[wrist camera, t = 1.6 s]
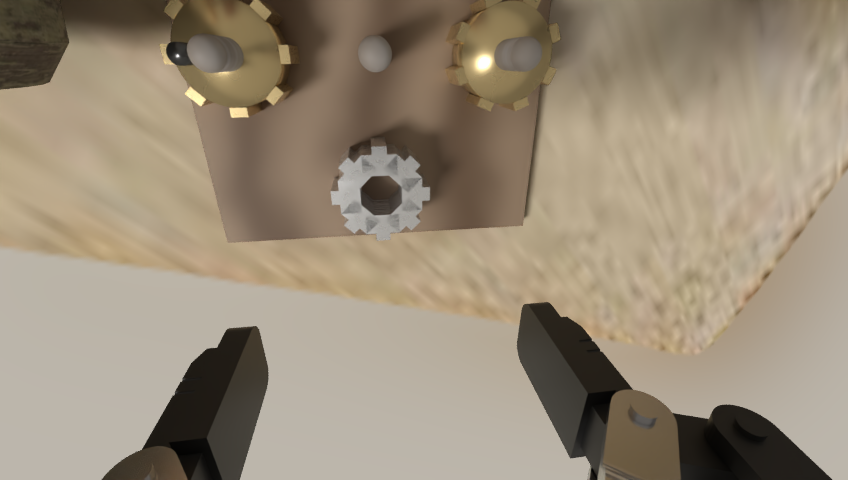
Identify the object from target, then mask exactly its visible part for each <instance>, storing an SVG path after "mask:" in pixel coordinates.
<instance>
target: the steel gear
mask: <svg viewBox="0 0 848 480" xmlns="http://www.w3.org/2000/svg"><path fill="white" fill-rule="evenodd" d="M419 167H420V163H419V161H418V159H417V157H416V155H415V154H414V153H413V152H412V151H411V150H410V149H409V148H408V147H407V146H406V145H405V146H404V148H403V149H402V150H401V151H400V150H399V149H398V148H397V147H396V146H395V145H394V144H388V145H386V143H385V138H384V137H371V145H361V147H360V148H359V149H358V150H357V151H356V152H355V151H354V150H353V149H351V148H350V147H349V148H348V149H347V151H346V152H345V153H344V154H343V155H342V156H341V158H340V162H339V166H338V169H339V170H340V174H339V177H338V178H334V180H333V184H332V188H331V200H332V205H340V207H341V214H342V215H343V216H344V217H345V220H344V226H345V227H346V228H348V229H349V230H350V231H352V232H353V233H354V234H355V233H356V232H357V231H358V230H359V229H361V230H362V231H363V232H365V233H366V234H377V241H378V240H390V233H398V232H401V231H402V230H403V229H404V228H405V227H406V226H407V227H408V228H409V229H410V230H412V229H413V228H414V227H415V226H417V225H418V224H419V223H420V222H421V220H420V217H419V213H420V212H421V211H422V201H428V200H430V186H429V184H428V182H427V180H426V178H425V176H424V174H420V172H419V170H418V168H419ZM371 176H390V177H391V178H392V179H393V180H395V181H396V182H397V183H398V190H397V191H396V192H395V193H394V194H393V195H392V196H391V197H390V198H389V199H384V200H373V199H371V198H370V197H369V196H368V195H367V194H366V193H364V192H363V191H362V188H361V187H362V186H363V185H364V184H365V183H366V182H367V181H368V180H369V178H370V177H371Z"/></svg>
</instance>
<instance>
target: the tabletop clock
mask: <svg viewBox="0 0 848 480" xmlns="http://www.w3.org/2000/svg"><path fill="white" fill-rule="evenodd" d="M68 44H69V39H68V35H67V31H66V27H65V22H64V18H63V14H62V10H61V5H60V1H59V0H0V89H10V88H20V87H29V86H36V85H42V84H46V83H48V82H50V80H51V78H52V76H53V74H54V72H55V70H56V68H57V66H58V64H59V62H60V60H61V58H62V56H63V54H64V52H65V50H66V48H67V46H68Z"/></svg>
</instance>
